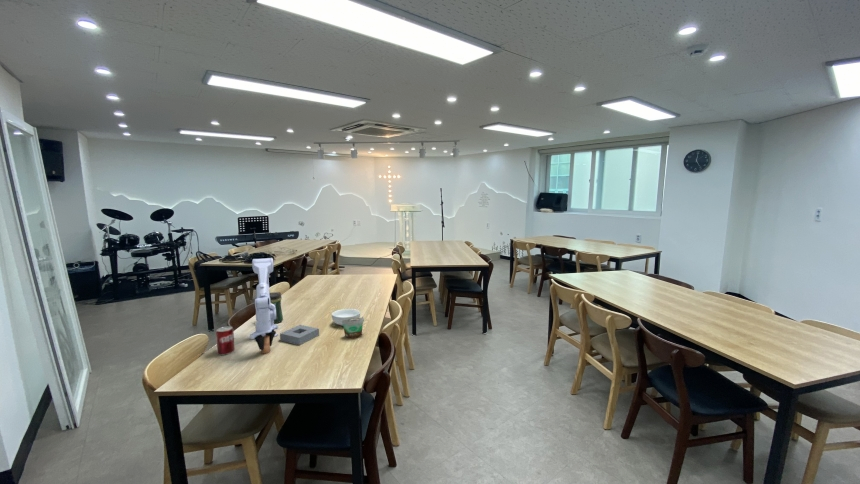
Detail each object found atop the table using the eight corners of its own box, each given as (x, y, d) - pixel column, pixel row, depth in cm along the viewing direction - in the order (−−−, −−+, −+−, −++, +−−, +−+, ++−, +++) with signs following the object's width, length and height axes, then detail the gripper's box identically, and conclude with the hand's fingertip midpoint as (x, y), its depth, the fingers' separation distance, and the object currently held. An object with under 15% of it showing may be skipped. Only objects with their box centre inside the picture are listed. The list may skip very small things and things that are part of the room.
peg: (259, 353, 160) (258, 337, 159) (266, 349, 164) (265, 334, 163) (265, 354, 159) (264, 338, 158) (272, 351, 162) (271, 335, 161)
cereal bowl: (366, 322, 203) (365, 311, 202) (345, 331, 189) (345, 319, 188) (346, 317, 212) (346, 306, 211) (326, 325, 198) (325, 313, 197)
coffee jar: (284, 319, 208) (283, 290, 206) (280, 323, 200) (278, 294, 198) (268, 319, 207) (266, 291, 205) (263, 324, 199) (262, 294, 197)
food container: (344, 340, 175) (344, 322, 174) (342, 336, 180) (341, 319, 179) (367, 336, 181) (366, 319, 180) (364, 332, 186) (363, 315, 185)
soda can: (238, 350, 164) (236, 327, 162) (224, 356, 157) (223, 332, 156) (227, 348, 166) (225, 325, 165) (213, 354, 159) (212, 330, 158)
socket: (280, 340, 175) (279, 333, 175) (300, 331, 188) (300, 324, 187) (299, 345, 169) (299, 337, 169) (319, 335, 182) (318, 328, 182)
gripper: (256, 327, 151) (258, 355, 153) (282, 317, 164) (283, 343, 166) (246, 325, 154) (247, 352, 156) (272, 315, 167) (273, 340, 169)
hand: (265, 347), depth 161 cm, fingers closed on peg, 4 cm apart
